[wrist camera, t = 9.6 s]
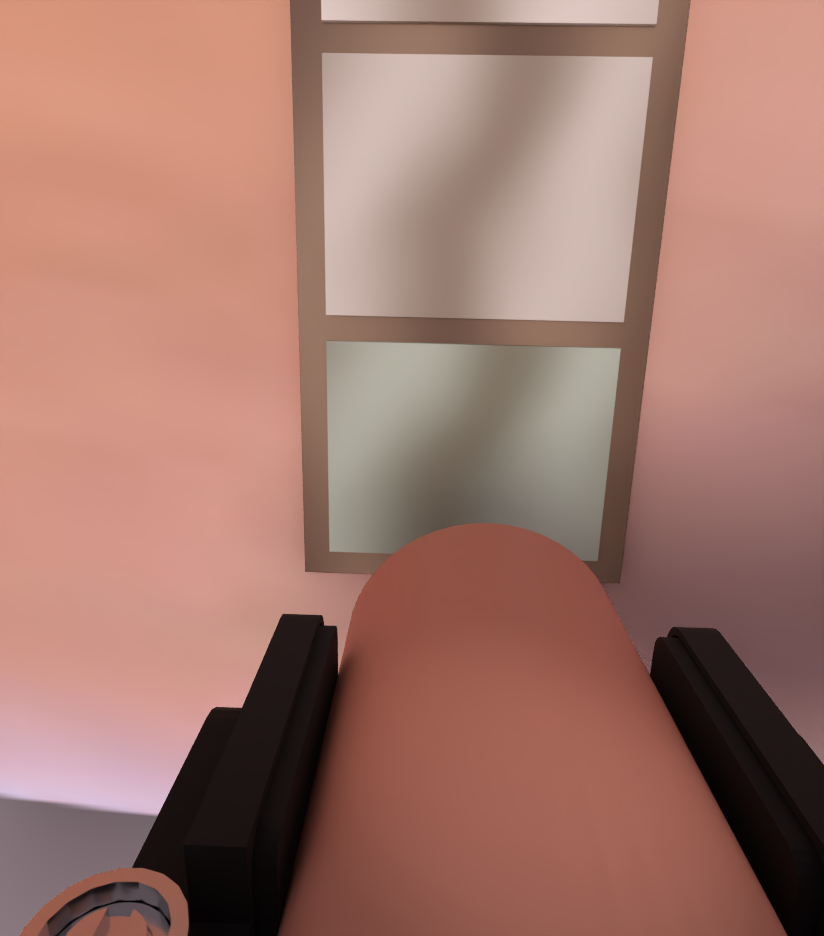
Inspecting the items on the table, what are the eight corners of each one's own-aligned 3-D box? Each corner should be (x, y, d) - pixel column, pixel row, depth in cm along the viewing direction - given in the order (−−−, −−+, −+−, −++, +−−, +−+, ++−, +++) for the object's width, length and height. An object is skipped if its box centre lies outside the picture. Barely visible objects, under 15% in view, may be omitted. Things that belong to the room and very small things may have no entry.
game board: (723, -338, 17) (737, -366, 16) (615, 575, 24) (621, 586, 23) (285, -335, 17) (278, -363, 17) (308, 564, 25) (303, 574, 24)
